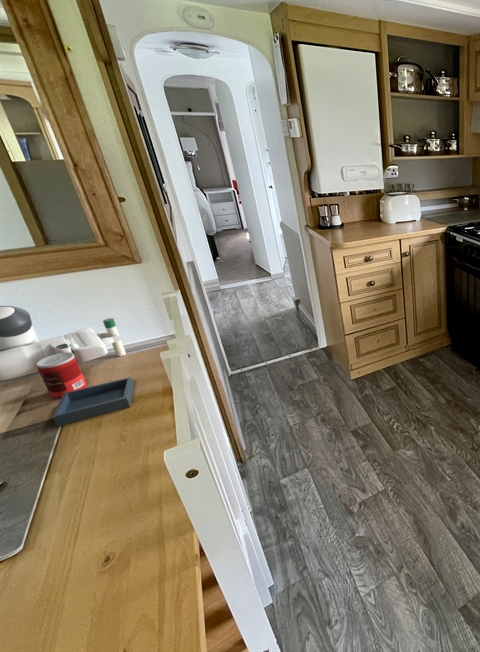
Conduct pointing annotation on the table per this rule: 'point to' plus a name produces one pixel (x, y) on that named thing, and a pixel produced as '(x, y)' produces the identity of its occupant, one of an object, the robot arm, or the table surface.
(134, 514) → the table surface
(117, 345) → the marker
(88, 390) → the tray
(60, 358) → the canned food
